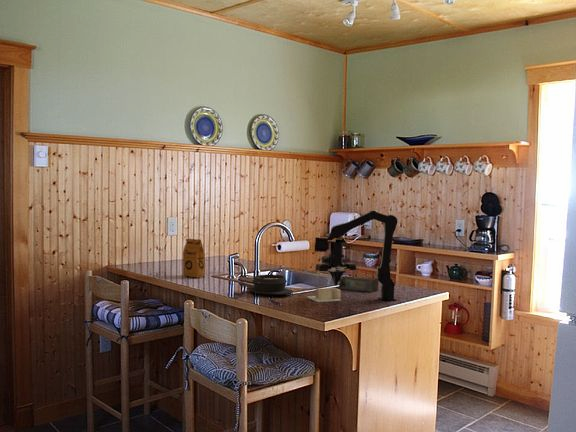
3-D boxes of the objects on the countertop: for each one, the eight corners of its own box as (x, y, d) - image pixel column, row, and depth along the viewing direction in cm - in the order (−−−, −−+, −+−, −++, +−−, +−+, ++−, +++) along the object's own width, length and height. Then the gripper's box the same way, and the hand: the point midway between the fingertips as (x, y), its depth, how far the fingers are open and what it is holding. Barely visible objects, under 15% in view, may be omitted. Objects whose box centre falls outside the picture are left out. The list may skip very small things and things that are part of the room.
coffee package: (195, 279, 310) (195, 240, 309) (180, 277, 317) (180, 238, 316) (208, 277, 318) (208, 238, 317) (193, 274, 325) (193, 237, 324)
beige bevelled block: (340, 290, 258) (321, 291, 255) (340, 298, 258) (320, 299, 255) (335, 287, 264) (315, 288, 260) (334, 296, 264) (315, 297, 260)
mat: (341, 300, 255) (341, 299, 255) (317, 302, 251) (317, 301, 251) (330, 295, 266) (330, 295, 266) (307, 297, 262) (307, 296, 262)
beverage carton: (344, 286, 293) (345, 274, 293) (379, 290, 284) (379, 277, 283) (338, 289, 286) (338, 276, 286) (373, 293, 277) (373, 279, 277)
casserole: (237, 293, 271) (237, 276, 270) (262, 288, 285) (262, 272, 285) (277, 300, 255) (277, 282, 255) (301, 294, 270) (301, 277, 270)
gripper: (346, 249, 271) (345, 281, 271) (311, 250, 264) (310, 283, 265) (357, 252, 260) (356, 285, 261) (320, 253, 254) (320, 287, 254)
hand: (335, 285), depth 261 cm, fingers closed
